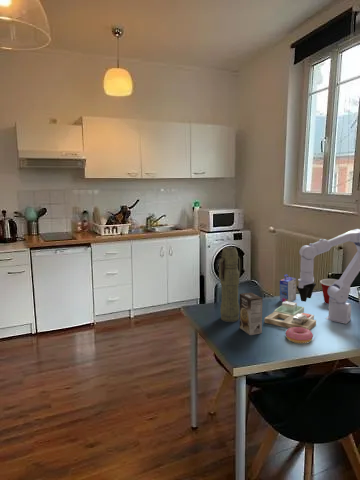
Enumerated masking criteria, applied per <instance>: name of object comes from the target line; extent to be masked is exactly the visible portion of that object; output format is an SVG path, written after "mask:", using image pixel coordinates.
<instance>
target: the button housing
mask: <svg viewBox="0 0 360 480" xmlns="http://www.w3.org/2000/svg"><path fill="white" fill-rule="evenodd" d="M302 313H303V312H302ZM302 313H300V314H302ZM307 319H312V320H315V315H314V314H311V316H310V317H309V318H307Z"/></svg>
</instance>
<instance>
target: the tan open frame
mask: <svg viewBox="0 0 360 480" xmlns="http://www.w3.org/2000/svg"><path fill="white" fill-rule="evenodd" d="M293 317H294V316H293V315H289V314H284V313H279V312H274V311H273V312H271V313H270V314H269V315H267V316H265V317H264V324H270V325H273V326H278V327H279V326H280V327H282V328H286V329H289V328H291V327H302V328H306V329H308V330H310V331H312V329H313V328H314V327H316V325H317V320H316V319H313V320H312V319H306V323H305V324H304V325H299V324H295V323H293ZM282 319H284V320H282Z"/></svg>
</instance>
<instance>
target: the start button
mask: <svg viewBox="0 0 360 480" xmlns="http://www.w3.org/2000/svg"><path fill="white" fill-rule="evenodd" d="M302 314H303V315H307V318H309V317H310V316H311V315H312V314H311V313H306V312H302Z"/></svg>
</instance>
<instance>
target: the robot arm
mask: <svg viewBox="0 0 360 480" xmlns="http://www.w3.org/2000/svg"><path fill="white" fill-rule="evenodd" d="M347 242H350V243H351V242H352V243H353V244H354V245H355V248H356V250H357V251H356V252H355V254H354V255H353V257H352V259H351V260H350V262H349V263H348V265H347V266H346V268H345V269H344V270H343V273H342V275H341V276H340V277H339V279H336V280H337V281H335V282H334V284H333V285H331V286H330V287H329V288H328V290H327V293H328V295H329V296H330V298H329V304H328V315H327V316H326V318H324V319H325V320H327V321H328V320H329V321H331V322H335V323H341V324H346V325H347V324H348V323H349V322H350V321H351V320H352V317H351V316H352V304H351V303H350V302H347V300H348V299H349V294H350V293H351V285H352V284H353V282H354V281H355V279H356V278H357V276H358V275H359V273H360V228H355V229H351V230H349V231H347V232H344V233H342V234H339V235H337V236H335V237H333V238H330V239H325V238H320V239H318V241H316V242H313V243H311V242H310V243H309V245H307V244H305V245H302V246H301V247H300V248H299V251H298V253H299V256H300V272H299V275H300V277H299V278H298V279H297V282H298V285H296V290H297V292H298V294H299V296H300V297H299V298H300V301H301V302H307V299H312V295H313V293H314V292H313V291H314V289H315V287H316V286H317V284H316V282H315V277H314V265H315V263H314V260H315V259H314V258H315V257H316V256H318V255H321V254H324V253H327V252H329V251H330V250H331V248H332V247H335V246H338V245H341V244H345V243H347Z"/></svg>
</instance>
